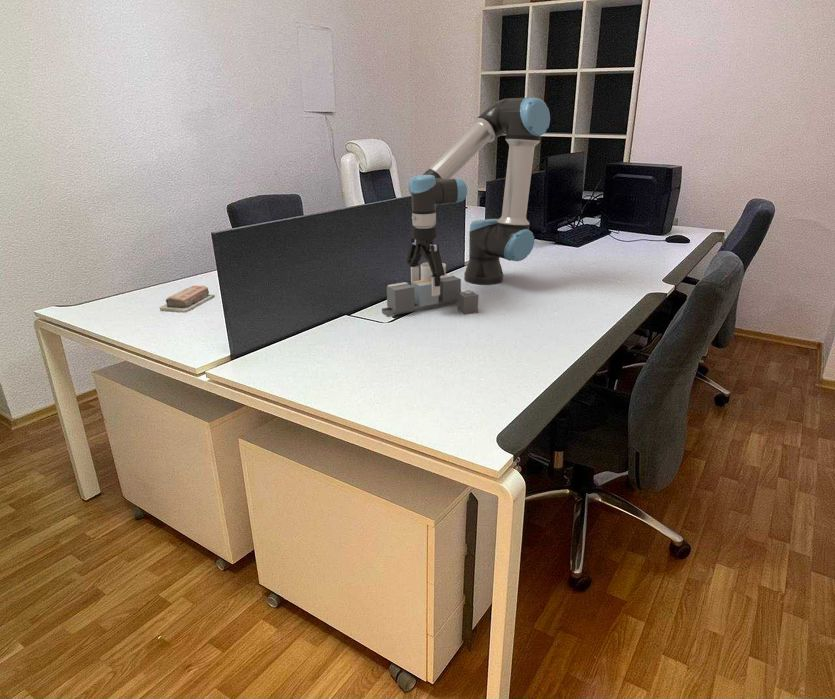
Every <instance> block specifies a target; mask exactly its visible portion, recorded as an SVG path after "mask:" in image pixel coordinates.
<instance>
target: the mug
mask: <svg viewBox="0 0 835 699" xmlns="http://www.w3.org/2000/svg"><path fill="white" fill-rule="evenodd" d="M442 265H443V269H444V273H445V274H444V275H442V276H446V275H447V264H446V263H444V262H442ZM435 273H436V272H435ZM432 275H433V274H432V271H431V269H430V266H429V263H428V261H426V262H423V263H421V264H420V280H425V279H432V277H431V276H432Z"/></svg>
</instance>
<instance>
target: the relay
mask: <svg viewBox="0 0 835 699" xmlns="http://www.w3.org/2000/svg"><path fill="white" fill-rule="evenodd" d="M457 310H458V312H460V313H461V314H463V315H469V314H478V313H479V294H478V293H477V292H474V291H473V290H470V289H469V290H467V289H466V290H464V291H461V292H458V303H457Z"/></svg>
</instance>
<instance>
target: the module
mask: <svg viewBox="0 0 835 699" xmlns="http://www.w3.org/2000/svg"><path fill="white" fill-rule="evenodd" d="M410 285H411V286H413V287H414V295H415V304H416V305H418V306H420V307H421V306H426V305H431V304H437V303H439V295H438V296H432V279H425V280H421V279H419V280H418V281H412V282H411V281H410Z"/></svg>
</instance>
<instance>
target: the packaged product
mask: <svg viewBox="0 0 835 699" xmlns="http://www.w3.org/2000/svg"><path fill="white" fill-rule="evenodd" d="M209 293H210V290H209V288H208V287H207V286H205V285H192V286H189V287H187V288H184V289H183V290H181V291H178V292H176V293H173V295H169V296H168V297H167V298H166V299H165V303H166V304H164V305H161V306H159V310H160V312H173V313H182V314H183V313H187V312H189V311H191V310H192V309H195V308H197V307H199V306H200V305H203V304H205V303H206V302H208V301H210V300H212V299H214V298H215V296H216V295H215V294H209Z"/></svg>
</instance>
